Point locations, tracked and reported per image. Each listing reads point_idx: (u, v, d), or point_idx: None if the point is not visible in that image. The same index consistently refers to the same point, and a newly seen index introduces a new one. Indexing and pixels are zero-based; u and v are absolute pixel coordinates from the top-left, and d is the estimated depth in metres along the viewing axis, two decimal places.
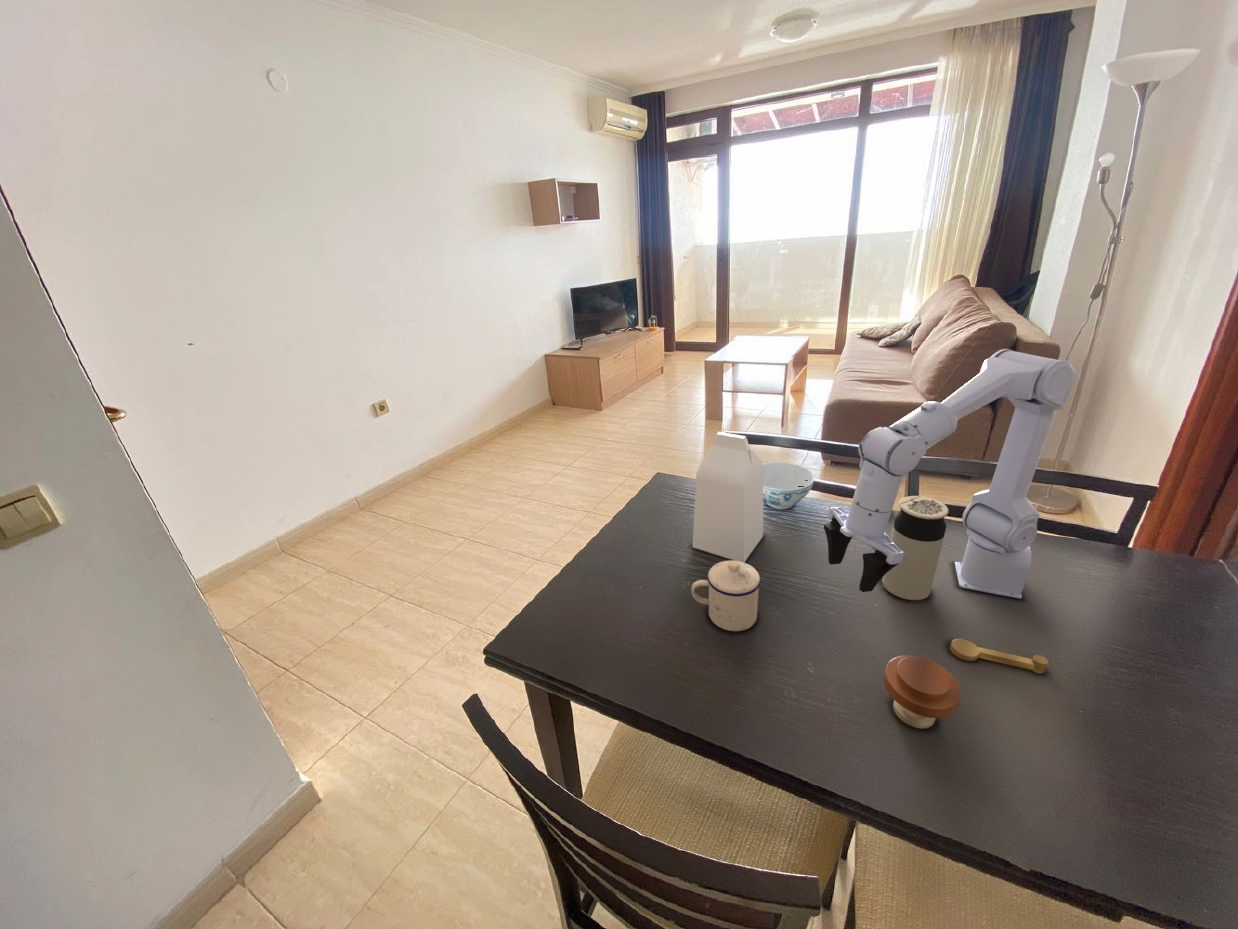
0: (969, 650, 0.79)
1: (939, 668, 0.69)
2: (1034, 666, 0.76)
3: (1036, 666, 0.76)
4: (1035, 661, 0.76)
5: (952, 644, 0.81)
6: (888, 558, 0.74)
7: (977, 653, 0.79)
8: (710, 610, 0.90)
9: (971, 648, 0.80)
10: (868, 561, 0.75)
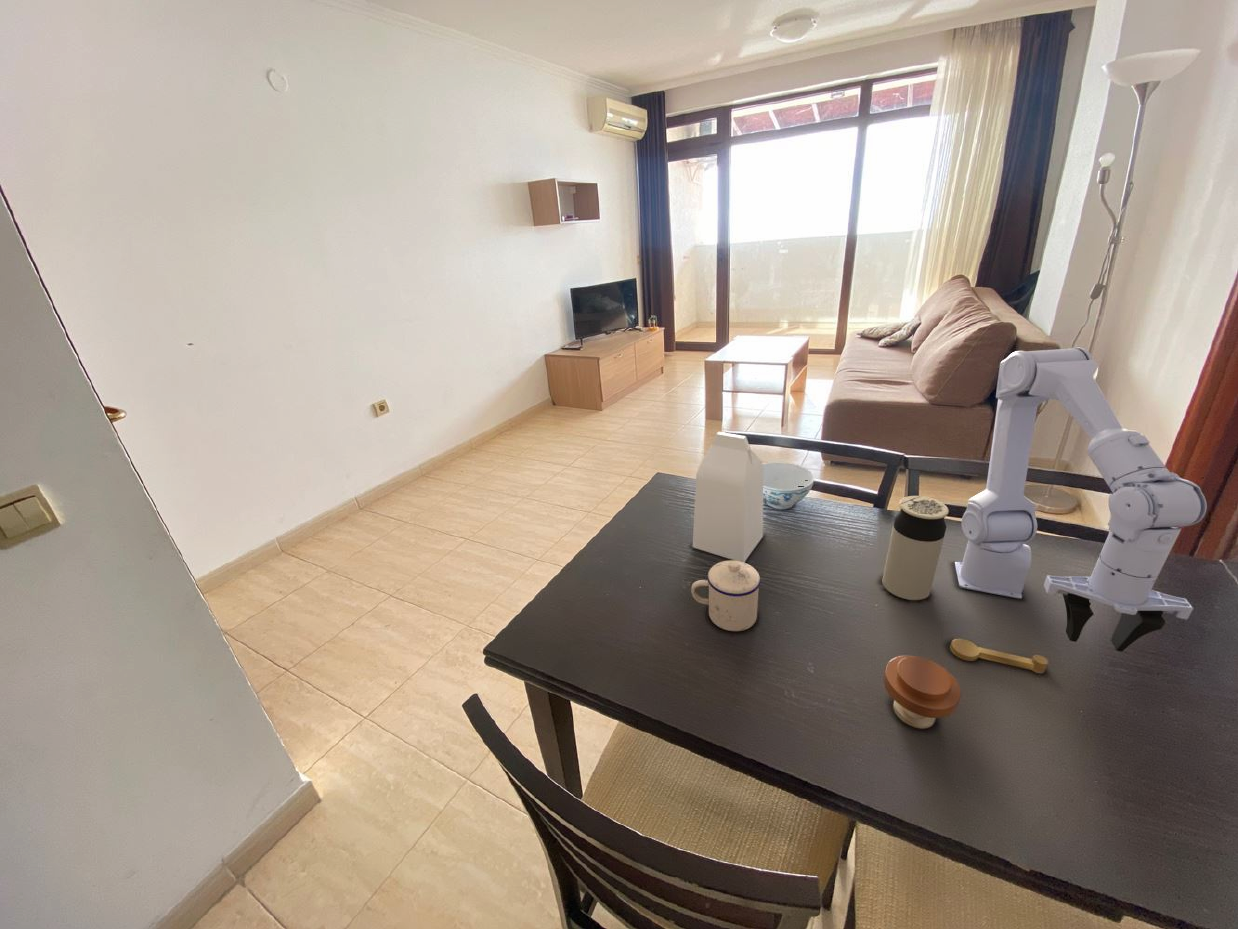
0: (969, 650, 0.79)
1: (939, 668, 0.69)
2: (1034, 666, 0.76)
3: (1036, 666, 0.76)
4: (1035, 661, 0.76)
5: (952, 644, 0.81)
6: (1183, 614, 0.64)
7: (977, 653, 0.79)
8: (710, 610, 0.90)
9: (971, 648, 0.80)
10: (1154, 626, 0.65)
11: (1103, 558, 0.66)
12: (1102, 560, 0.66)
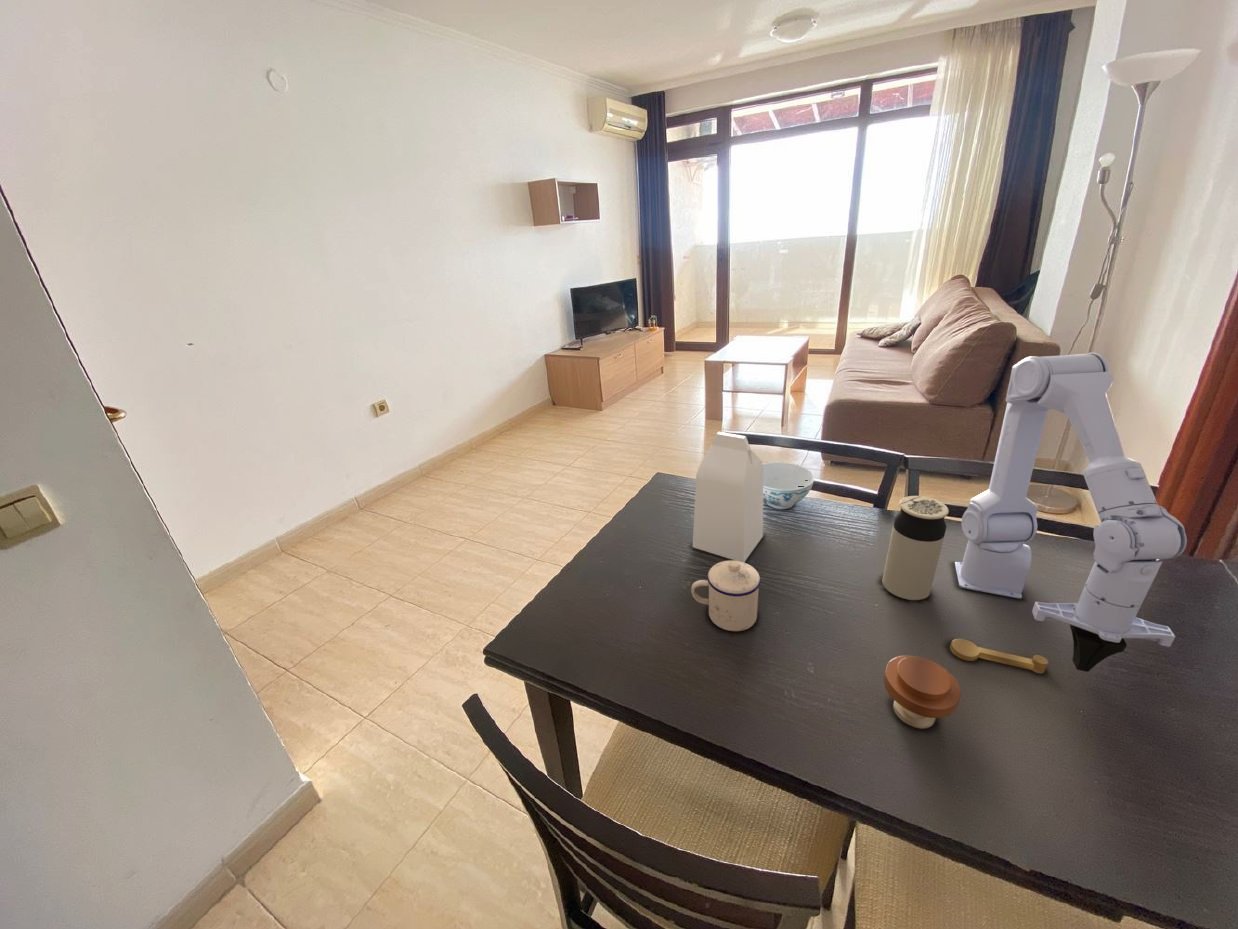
0: (969, 650, 0.79)
1: (939, 668, 0.69)
2: (1034, 666, 0.76)
3: (1036, 666, 0.76)
4: (1035, 661, 0.76)
5: (952, 644, 0.81)
6: (1165, 642, 0.67)
7: (977, 653, 0.79)
8: (710, 610, 0.90)
9: (971, 648, 0.80)
10: (1116, 649, 0.68)
11: (1088, 587, 0.68)
12: (1087, 589, 0.68)
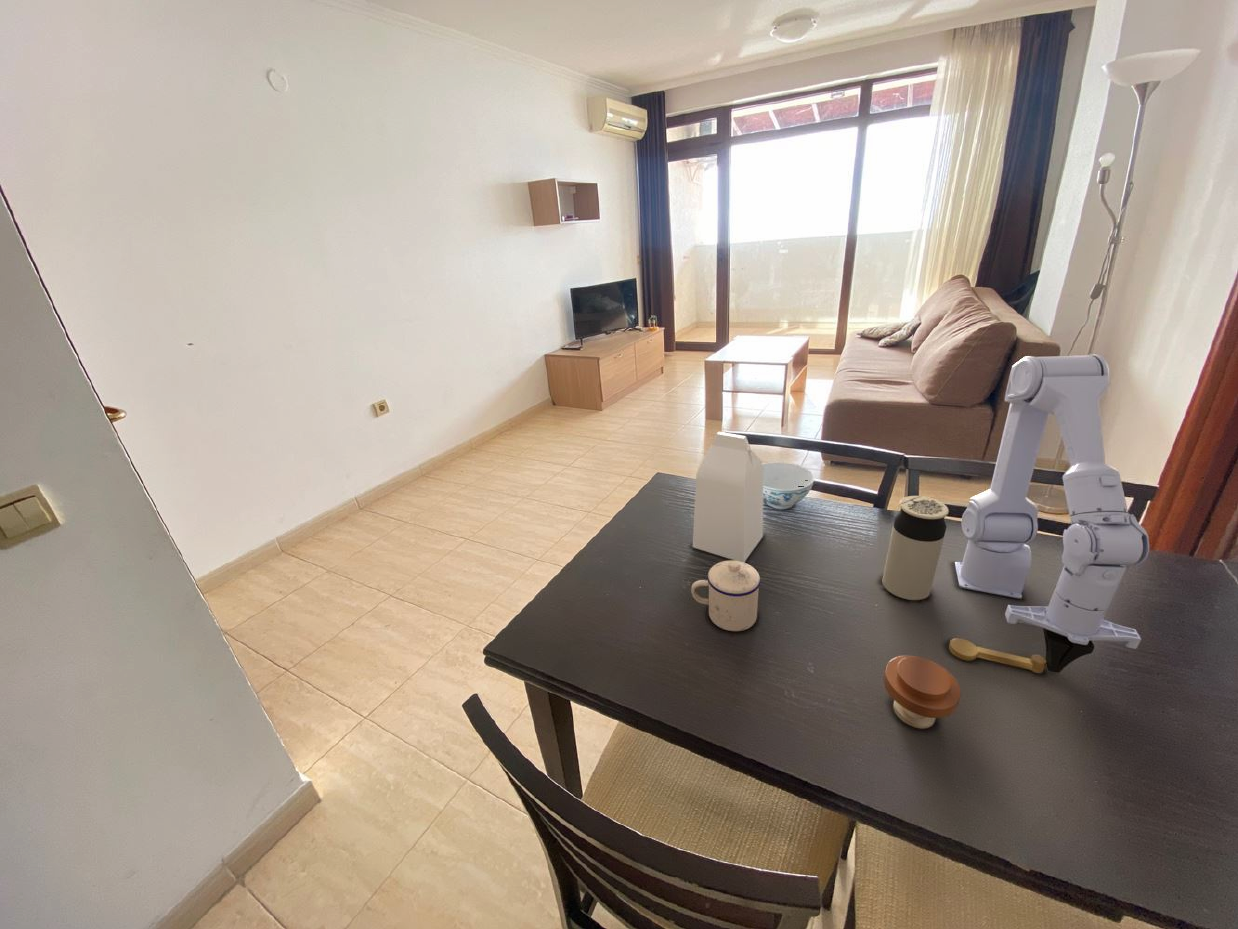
0: (968, 650, 0.79)
1: (939, 668, 0.69)
2: (1032, 666, 0.76)
3: (1035, 666, 0.76)
4: (1034, 661, 0.76)
5: (951, 644, 0.81)
6: (1132, 644, 0.68)
7: (976, 653, 0.79)
8: (710, 610, 0.90)
9: (970, 647, 0.80)
10: (1084, 650, 0.70)
11: (1057, 589, 0.70)
12: (1056, 591, 0.71)
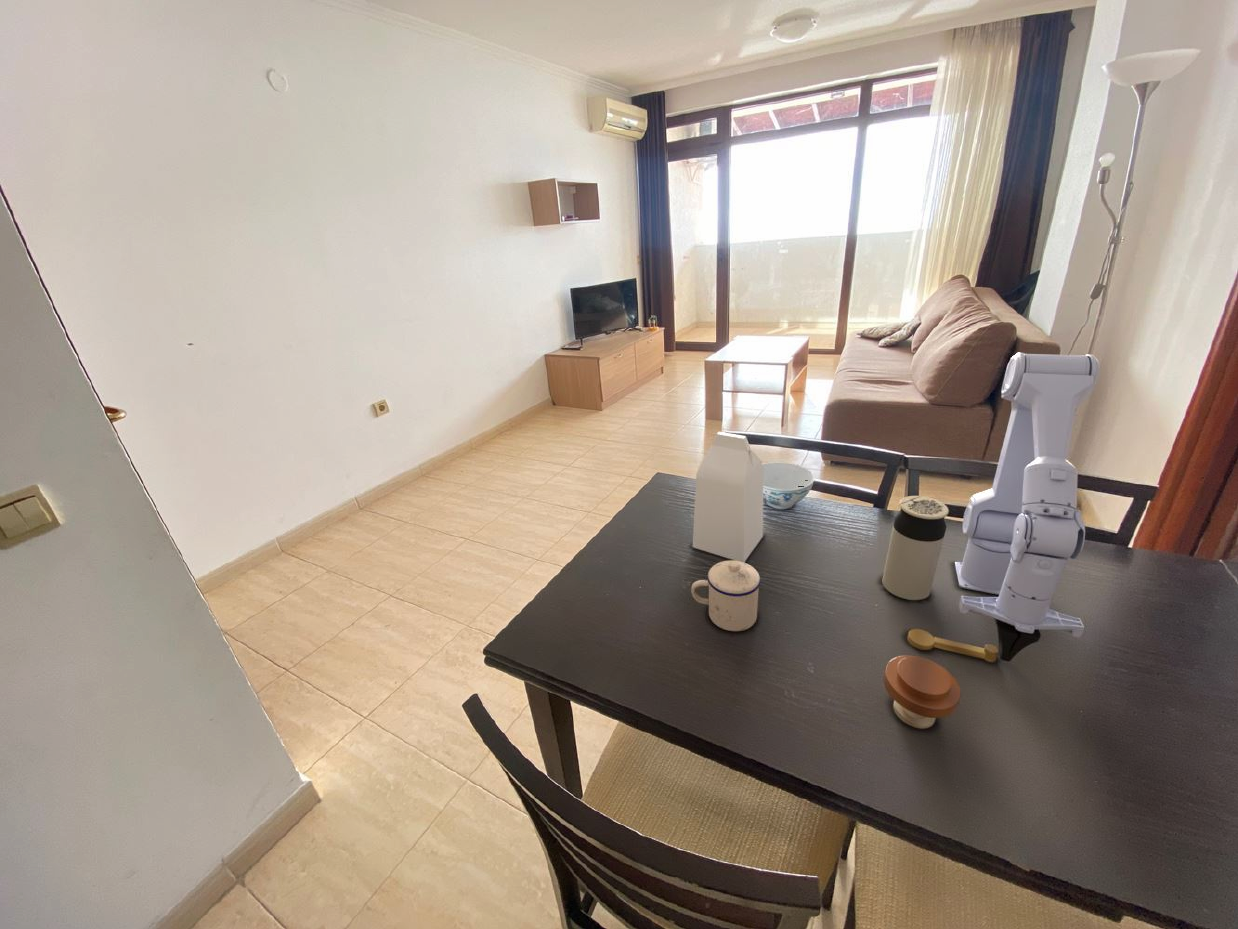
0: (925, 640, 0.82)
1: (939, 668, 0.69)
2: (985, 655, 0.78)
3: (987, 655, 0.78)
4: (986, 650, 0.78)
5: (909, 634, 0.83)
6: (1076, 633, 0.71)
7: (932, 642, 0.81)
8: (710, 610, 0.90)
9: (927, 637, 0.82)
10: (1031, 639, 0.72)
11: (1005, 577, 0.73)
12: (1004, 578, 0.74)
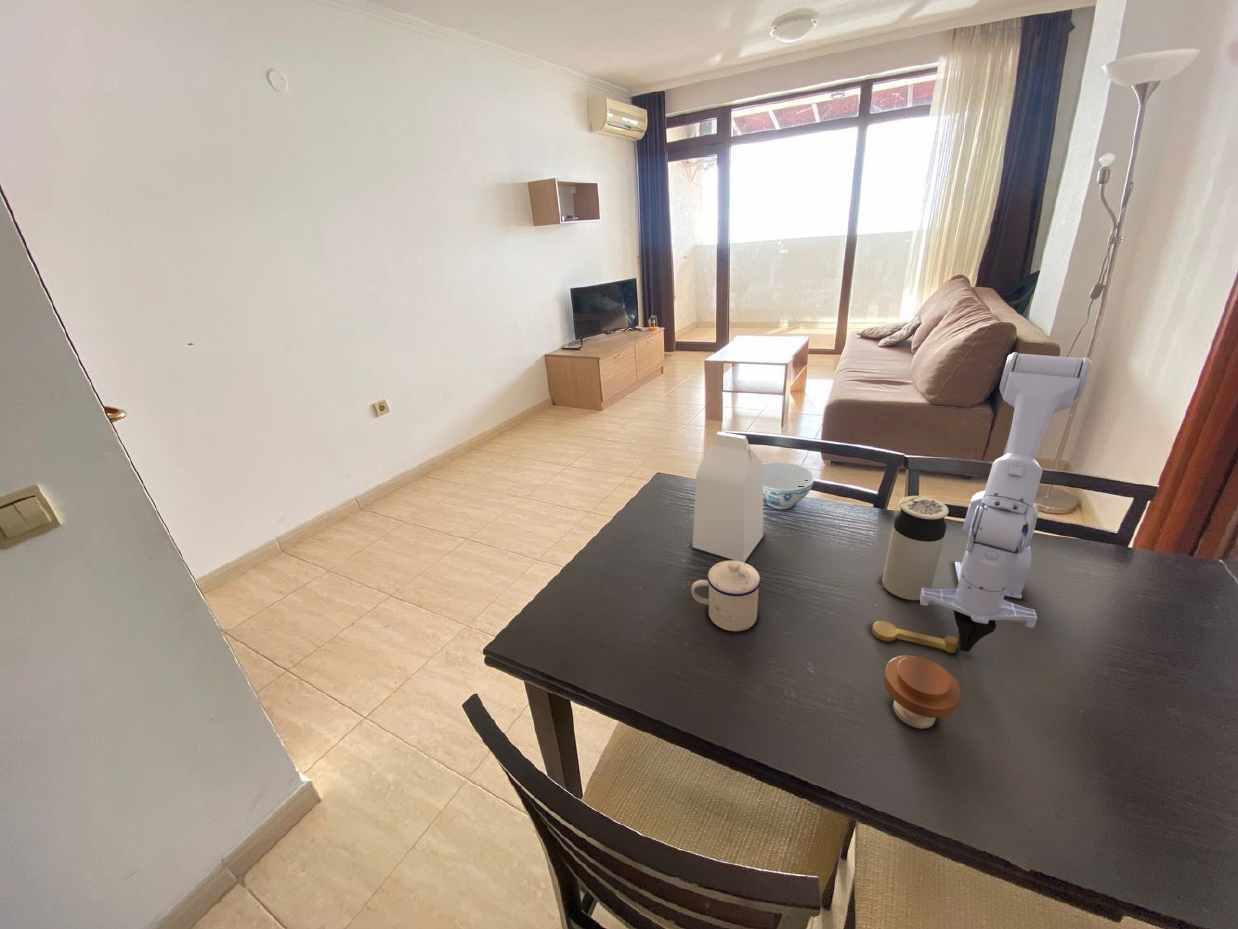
0: (888, 631, 0.84)
1: (939, 668, 0.69)
2: (946, 646, 0.81)
3: (947, 646, 0.80)
4: (946, 641, 0.80)
5: (873, 626, 0.85)
6: (1030, 623, 0.73)
7: (895, 634, 0.83)
8: (710, 610, 0.90)
9: (890, 629, 0.84)
10: (987, 630, 0.74)
11: None
12: None
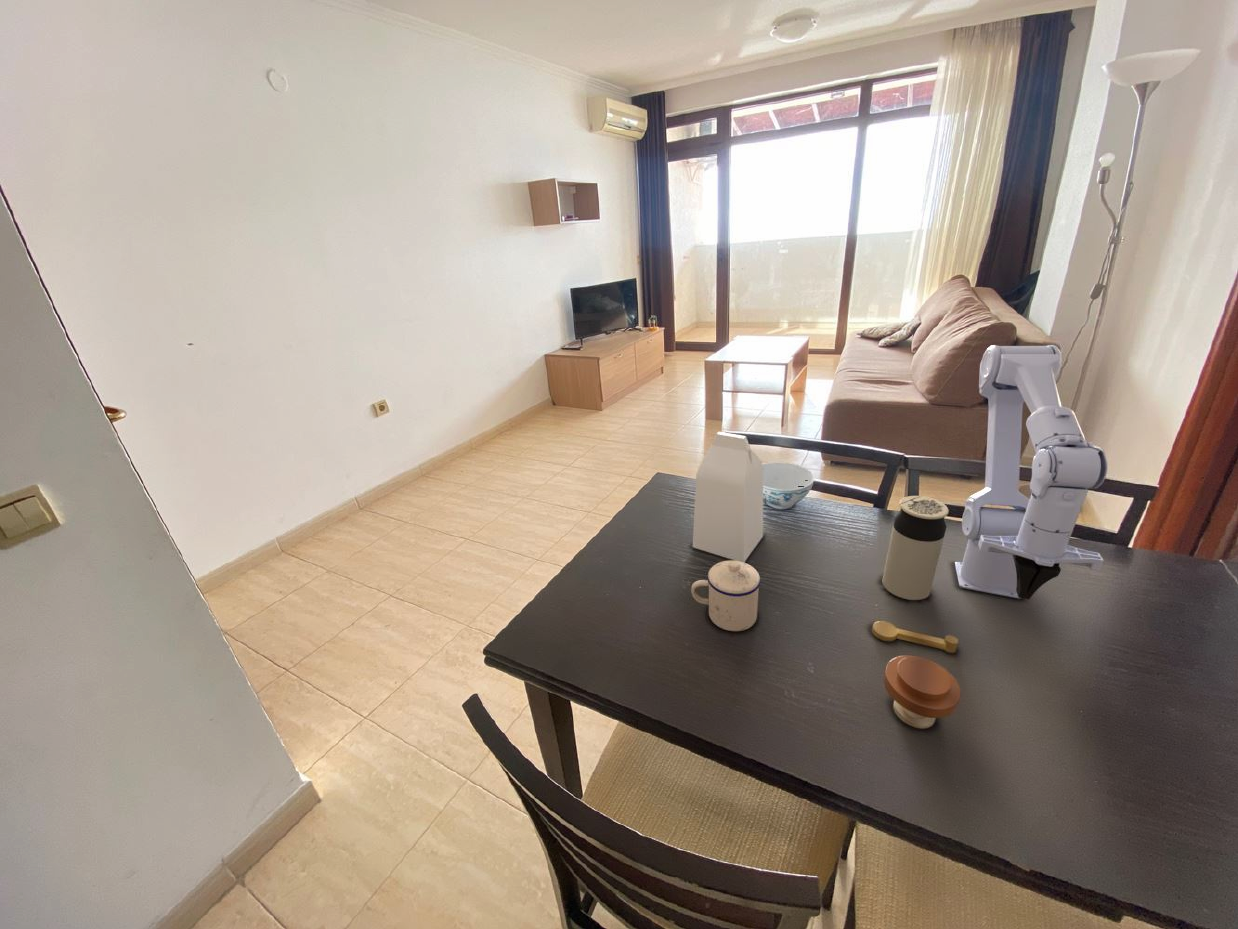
0: (888, 631, 0.84)
1: (939, 668, 0.69)
2: (946, 646, 0.81)
3: (947, 646, 0.80)
4: (946, 641, 0.80)
5: (873, 626, 0.85)
6: (1095, 566, 0.72)
7: (895, 634, 0.83)
8: (710, 610, 0.90)
9: (890, 629, 0.84)
10: (1051, 574, 0.74)
11: (1025, 514, 0.75)
12: (1024, 516, 0.75)
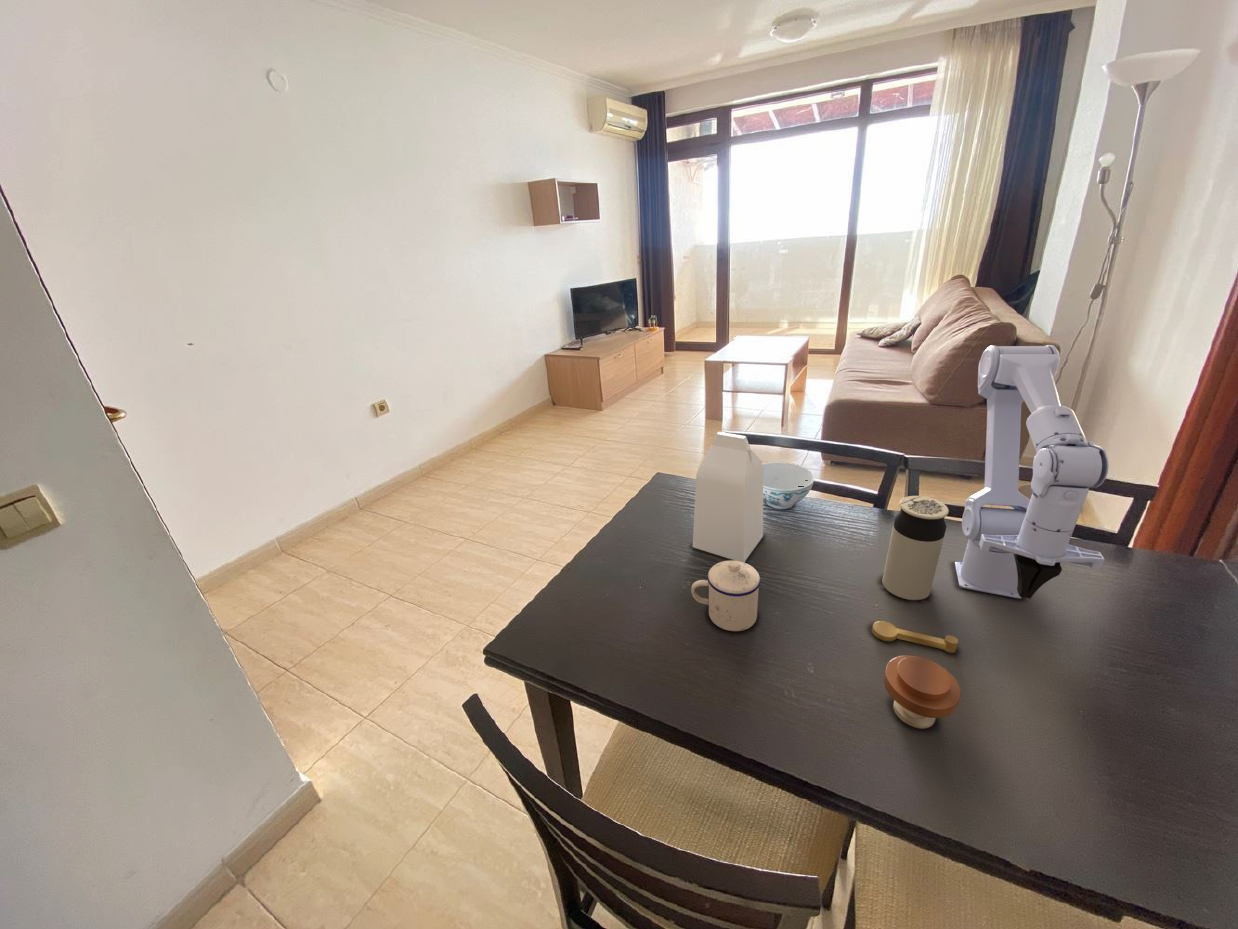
0: (888, 631, 0.84)
1: (939, 668, 0.69)
2: (946, 646, 0.81)
3: (947, 646, 0.80)
4: (946, 641, 0.80)
5: (873, 626, 0.85)
6: (1096, 565, 0.72)
7: (895, 634, 0.83)
8: (710, 610, 0.90)
9: (890, 629, 0.84)
10: (1052, 573, 0.74)
11: (1026, 514, 0.75)
12: (1025, 516, 0.75)
